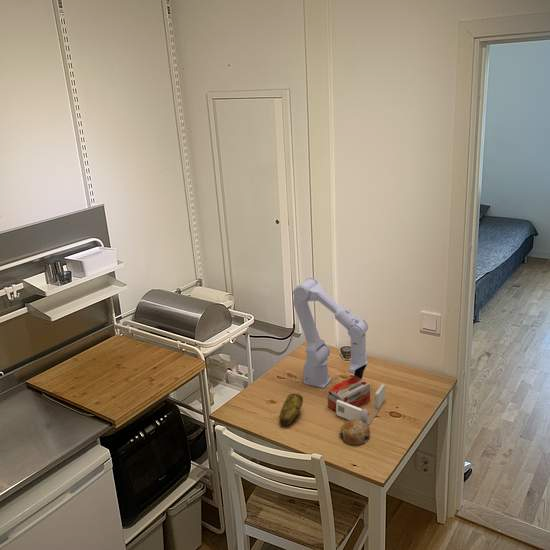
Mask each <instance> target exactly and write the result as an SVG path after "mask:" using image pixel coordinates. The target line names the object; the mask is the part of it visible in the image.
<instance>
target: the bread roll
mask: <svg viewBox="0 0 550 550" xmlns="http://www.w3.org/2000/svg"><path fill="white" fill-rule="evenodd" d="M338 433H339V435H341V439H342V440H343V441H344V442H346V443H347V444H349V445H356V446H357V445H363V444H366V443H367V442H368V440H369V438H370V434H371V430H370V428H369V425H368V426H367V425H366V424H365V423H363V422H362V421H359V420H347V421H345V423H344V424H342V425H341V427H340V429H339V431H338Z"/></svg>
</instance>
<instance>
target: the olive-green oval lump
mask: <svg viewBox="0 0 550 550" xmlns="http://www.w3.org/2000/svg"><path fill="white" fill-rule="evenodd" d="M303 401H304V398H303V396H302V395H300V394H299V393H290V394H289V395H288V396H287V397H286V399H285V400H284V403H283V405H282V407H281V410H280V412H279V420H280V423H281V424H282V425H285V426H288V425H289V424H292V422H293V421H294V419H296V417H297V416H298V414H299V412H300V411H301V408H302V406H303V403H304V402H303Z"/></svg>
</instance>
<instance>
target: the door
mask: <svg viewBox="0 0 550 550" xmlns="http://www.w3.org/2000/svg"><path fill="white" fill-rule="evenodd" d="M362 410H363V408H360V407H356V406H353V405H350V404H348V403H345V402H343V401H340V400H337V401H336V410H335V411H336V416H338V417H341V418H343V419H346V420H347V421H350V420H359V421H362Z"/></svg>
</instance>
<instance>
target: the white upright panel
mask: <svg viewBox="0 0 550 550" xmlns="http://www.w3.org/2000/svg"><path fill="white" fill-rule="evenodd" d="M385 399H386V384H384V383H381V385H380V386H379V387H378V389H377V390H376V392H375V394H374V407H373V408H372V409H371V410H370V412H368V409H366V408H362V422H363V423H365V424H366V425H367V426H368V427H369V426H370V425H371V424H372V422H373V420H374V419H375V417H376V416H377V415H378V413H379V411H380V407H381V406H382V405H383V402H384V401H385Z"/></svg>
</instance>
